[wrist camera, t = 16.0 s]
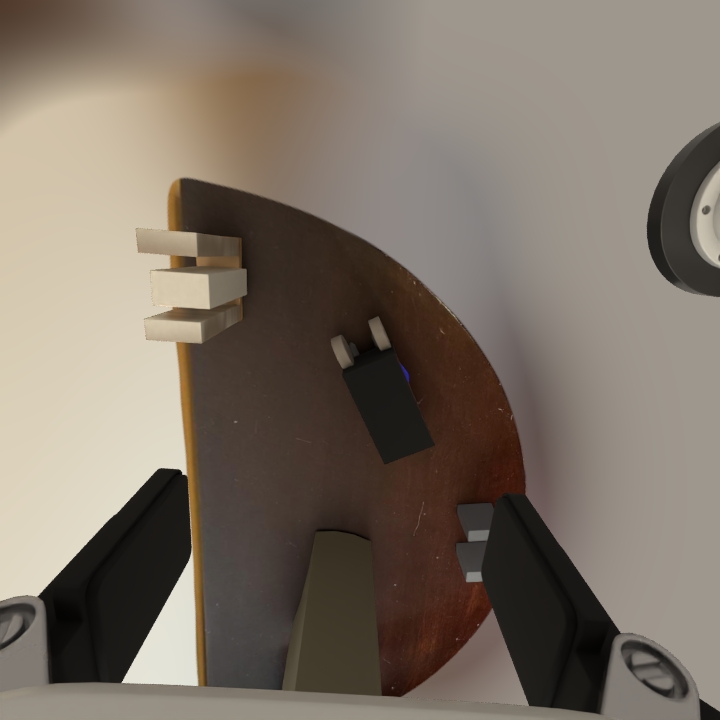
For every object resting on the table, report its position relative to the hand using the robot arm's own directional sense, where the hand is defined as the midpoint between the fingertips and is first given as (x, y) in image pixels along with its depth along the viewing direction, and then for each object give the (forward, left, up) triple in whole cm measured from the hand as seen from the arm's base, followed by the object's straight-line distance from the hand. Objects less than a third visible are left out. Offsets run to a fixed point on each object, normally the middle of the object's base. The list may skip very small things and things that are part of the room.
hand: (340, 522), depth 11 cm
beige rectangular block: (+2, -14, -32) cm, 35 cm away
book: (+35, +15, -33) cm, 50 cm away
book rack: (+2, -15, -33) cm, 36 cm away
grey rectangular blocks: (+18, +28, -33) cm, 47 cm away
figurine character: (+4, +6, -33) cm, 34 cm away
